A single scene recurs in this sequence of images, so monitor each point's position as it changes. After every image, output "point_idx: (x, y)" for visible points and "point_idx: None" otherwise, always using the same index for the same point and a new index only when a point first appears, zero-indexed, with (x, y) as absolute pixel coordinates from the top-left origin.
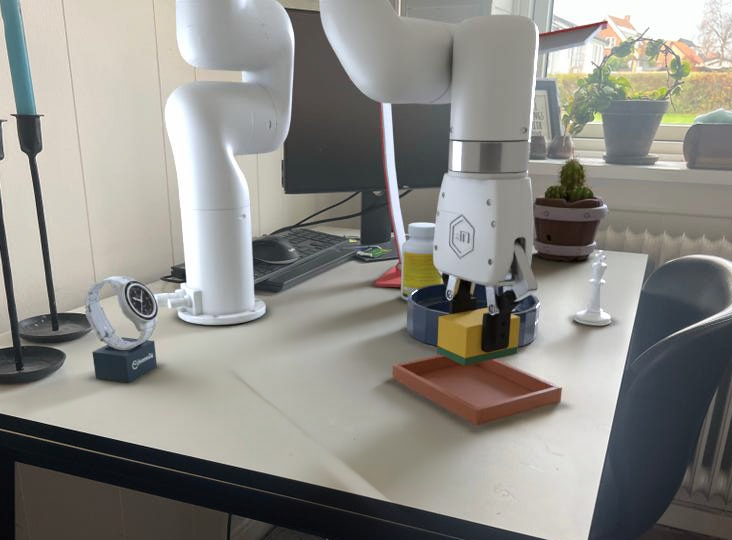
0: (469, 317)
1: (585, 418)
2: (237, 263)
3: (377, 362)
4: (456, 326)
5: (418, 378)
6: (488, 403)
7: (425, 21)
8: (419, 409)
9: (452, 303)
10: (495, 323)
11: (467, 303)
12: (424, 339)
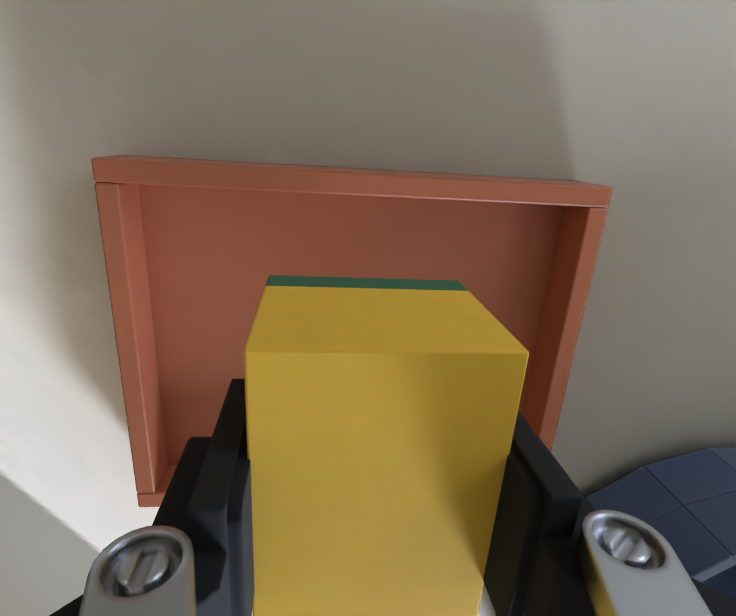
0: (399, 479)
1: (59, 465)
2: None
3: (725, 248)
4: (346, 340)
5: (452, 181)
6: (237, 304)
7: None
8: (349, 106)
9: (547, 491)
10: (178, 507)
11: (510, 570)
12: (718, 453)
